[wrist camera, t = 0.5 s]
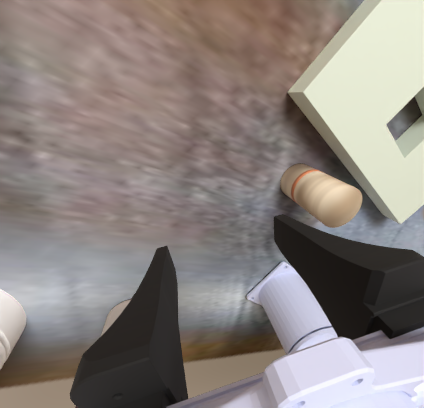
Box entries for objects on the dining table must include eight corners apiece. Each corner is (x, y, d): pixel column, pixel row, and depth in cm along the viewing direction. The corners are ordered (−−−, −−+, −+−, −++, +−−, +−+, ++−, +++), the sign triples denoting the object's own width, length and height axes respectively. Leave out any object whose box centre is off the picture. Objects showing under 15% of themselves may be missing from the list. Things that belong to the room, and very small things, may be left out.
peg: (318, 176, 25) (369, 202, 19) (293, 201, 26) (335, 234, 20) (299, 156, 23) (349, 177, 17) (273, 183, 24) (312, 213, 18)
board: (471, 136, 27) (498, 140, 25) (383, 215, 30) (400, 224, 28) (414, -60, 16) (452, -83, 14) (287, 92, 20) (303, 92, 17)
